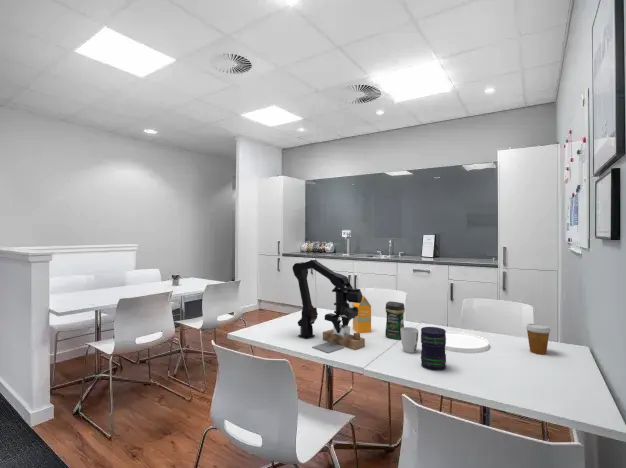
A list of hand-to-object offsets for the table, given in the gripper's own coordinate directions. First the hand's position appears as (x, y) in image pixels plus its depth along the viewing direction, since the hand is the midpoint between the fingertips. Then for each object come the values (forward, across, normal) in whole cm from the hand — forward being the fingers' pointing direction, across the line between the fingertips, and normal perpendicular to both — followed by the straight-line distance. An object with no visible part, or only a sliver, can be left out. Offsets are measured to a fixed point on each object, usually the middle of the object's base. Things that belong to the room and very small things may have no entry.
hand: (341, 332), depth 176 cm
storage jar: (+5, +5, -47) cm, 48 cm away
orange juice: (+6, +24, +7) cm, 26 cm away
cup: (+5, +14, -30) cm, 34 cm away
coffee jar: (+5, +27, -13) cm, 30 cm away
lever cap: (+1, 0, 0) cm, 1 cm away
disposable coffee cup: (+5, +55, -71) cm, 90 cm away
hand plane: (+5, 0, -1) cm, 5 cm away
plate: (+6, +41, -40) cm, 58 cm away
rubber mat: (+5, -10, -1) cm, 12 cm away
